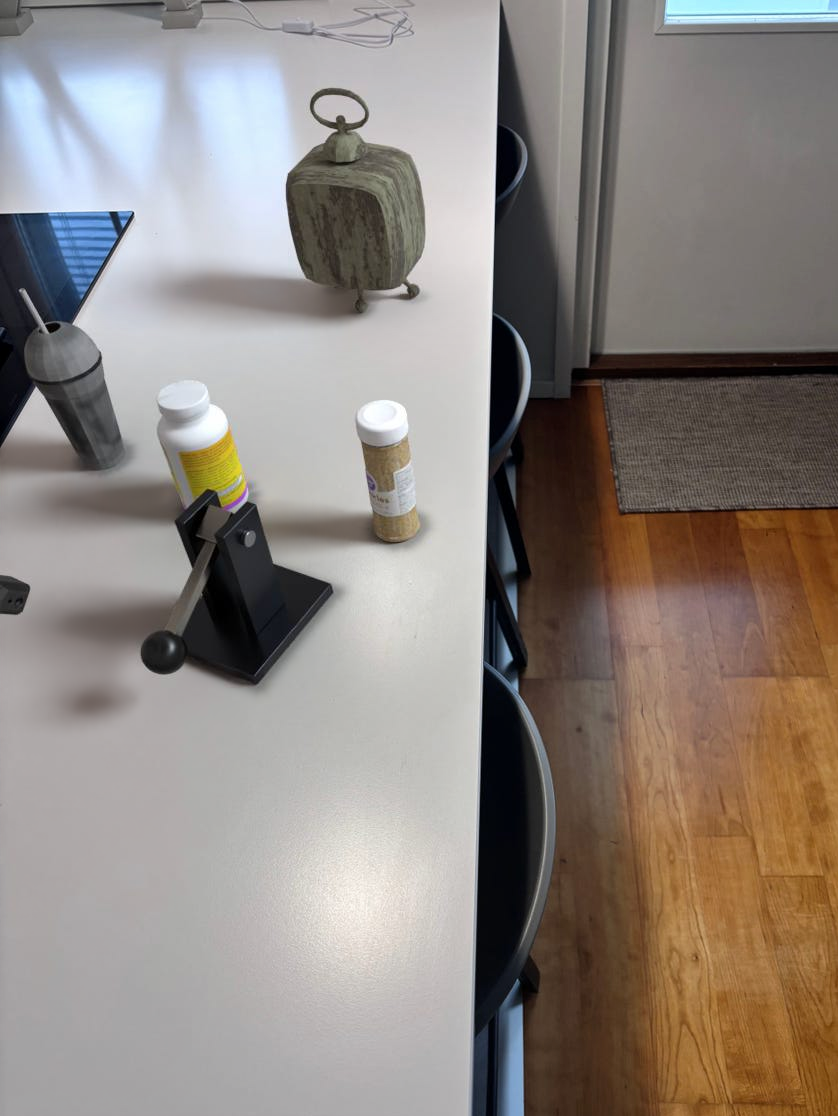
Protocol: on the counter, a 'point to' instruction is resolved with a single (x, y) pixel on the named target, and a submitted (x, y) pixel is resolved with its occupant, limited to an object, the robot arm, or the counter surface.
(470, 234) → the counter surface
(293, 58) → the counter surface
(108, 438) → the beverage cup
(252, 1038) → the counter surface
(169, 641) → the lever
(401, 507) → the sprinkles bottle
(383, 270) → the tabletop clock
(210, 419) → the supplement bottle
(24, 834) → the counter surface
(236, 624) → the bracket
